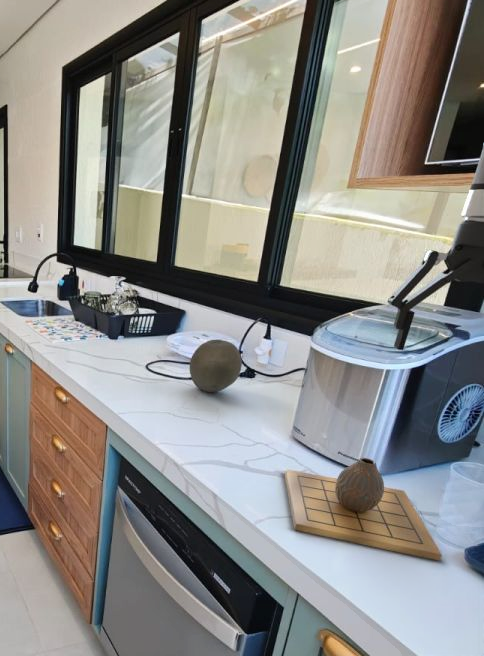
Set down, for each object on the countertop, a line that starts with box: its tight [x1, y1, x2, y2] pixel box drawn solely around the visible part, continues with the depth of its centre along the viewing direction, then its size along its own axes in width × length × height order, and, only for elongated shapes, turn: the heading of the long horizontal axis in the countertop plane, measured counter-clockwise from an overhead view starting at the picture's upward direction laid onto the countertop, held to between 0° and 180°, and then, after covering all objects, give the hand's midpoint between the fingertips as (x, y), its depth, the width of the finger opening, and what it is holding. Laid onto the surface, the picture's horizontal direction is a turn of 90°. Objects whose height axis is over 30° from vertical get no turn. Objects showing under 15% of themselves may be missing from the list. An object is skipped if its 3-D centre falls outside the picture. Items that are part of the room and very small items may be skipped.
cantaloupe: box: [189, 339, 243, 393], centre depth 141 cm, size 14×14×15 cm
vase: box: [335, 457, 385, 512], centre depth 86 cm, size 7×7×9 cm
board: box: [284, 469, 443, 562], centre depth 88 cm, size 20×20×1 cm
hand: (444, 353), depth 86 cm, fingers open, 13 cm apart
